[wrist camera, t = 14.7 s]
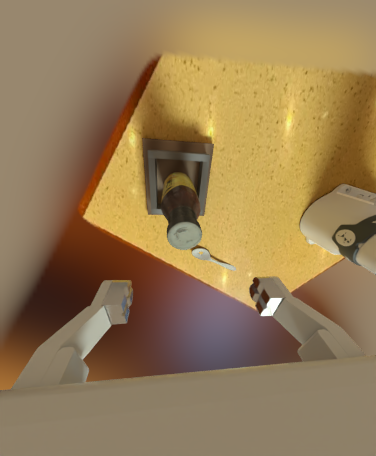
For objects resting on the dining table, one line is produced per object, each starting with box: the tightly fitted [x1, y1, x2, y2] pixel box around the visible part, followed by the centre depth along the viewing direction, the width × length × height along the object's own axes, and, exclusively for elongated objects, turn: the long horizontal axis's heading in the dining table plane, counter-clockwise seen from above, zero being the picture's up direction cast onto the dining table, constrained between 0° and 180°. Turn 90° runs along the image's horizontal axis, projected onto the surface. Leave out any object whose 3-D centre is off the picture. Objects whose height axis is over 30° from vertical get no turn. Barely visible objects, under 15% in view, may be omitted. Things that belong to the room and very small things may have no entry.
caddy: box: [142, 138, 214, 216], centre depth 32 cm, size 14×16×5 cm
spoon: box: [192, 248, 236, 271], centre depth 48 cm, size 4×21×2 cm, turn 55°
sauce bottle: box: [161, 171, 202, 250], centre depth 25 cm, size 7×6×20 cm
